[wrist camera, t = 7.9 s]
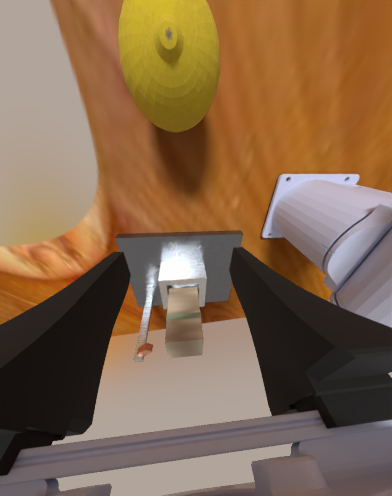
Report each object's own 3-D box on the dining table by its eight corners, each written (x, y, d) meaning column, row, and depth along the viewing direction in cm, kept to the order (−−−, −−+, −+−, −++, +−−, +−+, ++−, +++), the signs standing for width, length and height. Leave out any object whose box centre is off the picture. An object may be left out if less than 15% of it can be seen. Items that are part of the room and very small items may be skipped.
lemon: (202, 139, 14) (221, 135, 8) (141, 128, 13) (105, 115, 7) (213, 47, 11) (262, -90, 5) (135, 27, 10) (58, -174, 4)
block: (197, 286, 19) (204, 339, 14) (196, 303, 21) (202, 355, 16) (168, 288, 19) (164, 342, 14) (170, 305, 21) (168, 358, 16)
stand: (240, 230, 20) (277, 283, 13) (226, 296, 28) (244, 353, 21) (117, 234, 19) (75, 295, 11) (139, 301, 27) (124, 364, 19)
